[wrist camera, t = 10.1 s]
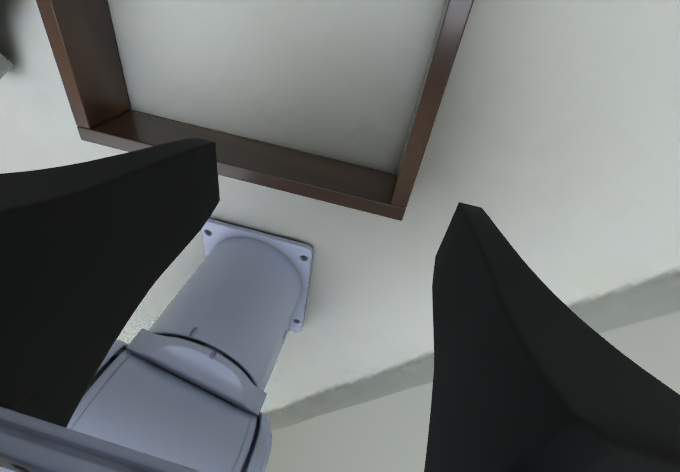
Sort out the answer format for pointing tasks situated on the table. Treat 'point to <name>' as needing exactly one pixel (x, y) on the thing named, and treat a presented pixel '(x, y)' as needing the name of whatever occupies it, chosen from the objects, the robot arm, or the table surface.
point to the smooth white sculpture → (4, 65)
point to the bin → (233, 151)
